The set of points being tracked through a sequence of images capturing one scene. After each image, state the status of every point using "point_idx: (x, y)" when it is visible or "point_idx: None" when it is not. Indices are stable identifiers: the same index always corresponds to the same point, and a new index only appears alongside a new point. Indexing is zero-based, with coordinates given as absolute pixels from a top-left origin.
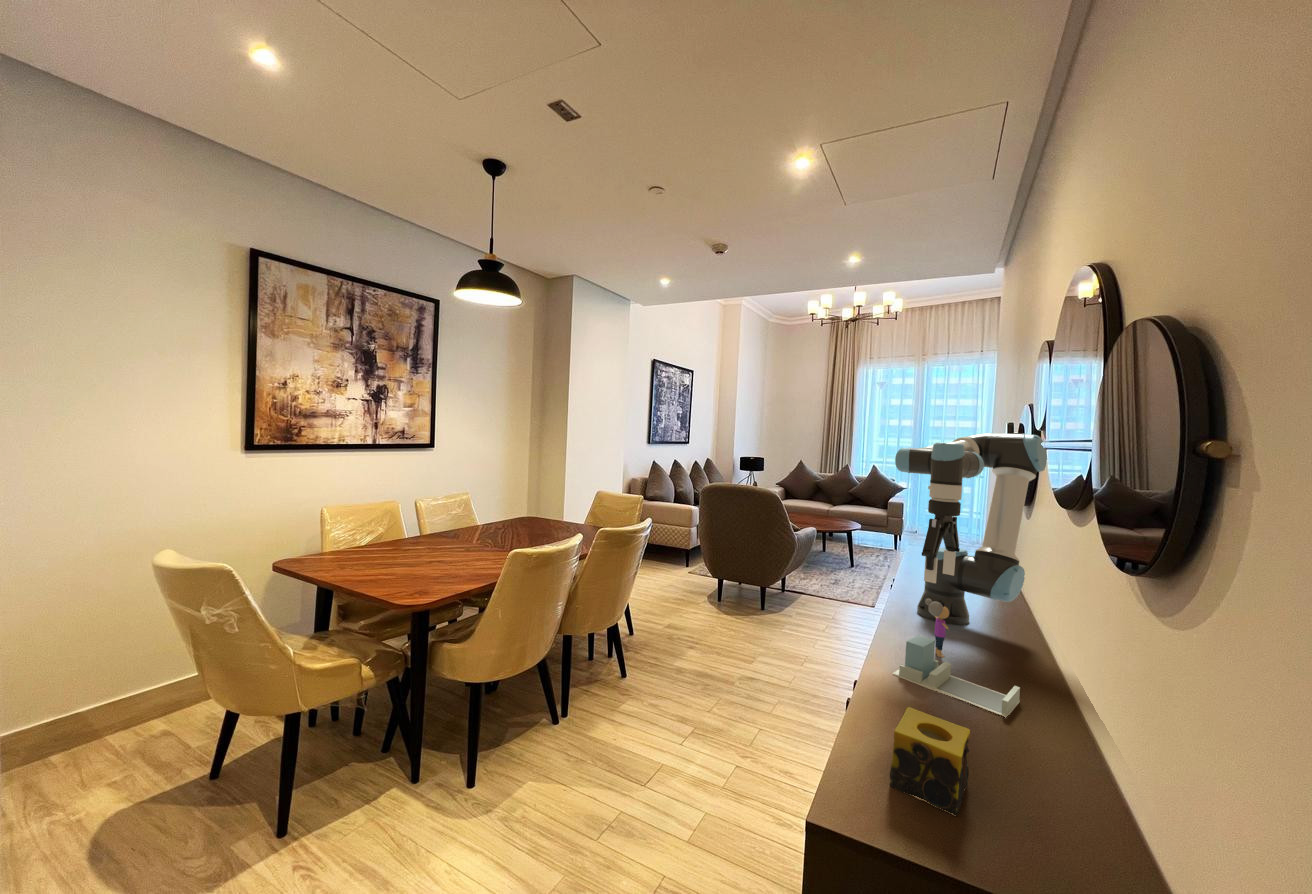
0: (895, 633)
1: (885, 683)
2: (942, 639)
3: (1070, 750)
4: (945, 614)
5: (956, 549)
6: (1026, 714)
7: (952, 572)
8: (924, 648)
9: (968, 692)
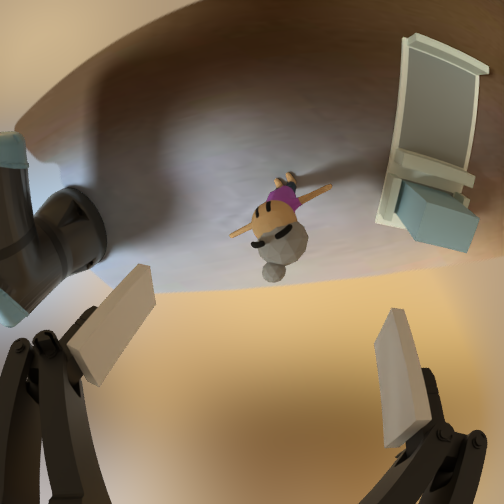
0: (230, 273)
1: (474, 239)
2: (291, 188)
3: (487, 12)
4: (290, 208)
5: (50, 350)
6: (437, 36)
7: (142, 278)
8: (474, 215)
9: (446, 117)
